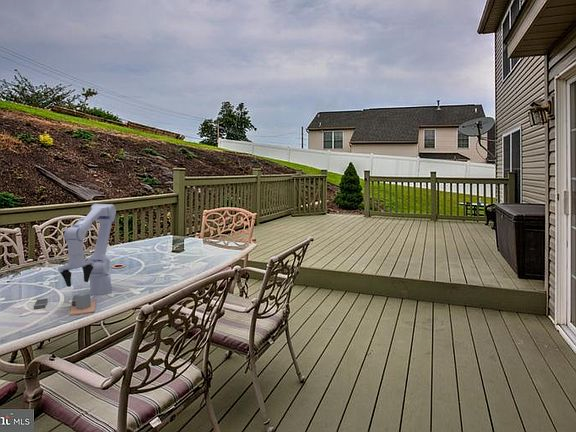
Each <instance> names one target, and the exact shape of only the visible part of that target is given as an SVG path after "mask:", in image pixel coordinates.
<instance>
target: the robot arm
mask: <svg viewBox="0 0 576 432" xmlns="http://www.w3.org/2000/svg"><path fill="white" fill-rule="evenodd" d="M116 215H117V210H116V206H115V205H114V204H113V203H110V204H109V203H107V204H106V203H105V204H104V203H94V204H92V205H91V206H90V212H89V213H88V214H87V215H86V216H85V217H80V218H79V220H78V221H76V223H74V224H73V225H72V226H70V227H67V228H66V229H65V230H64V234H63V237H64V239H65V243H66V245H67V253H68V254H67V255H68V264H65V265H62V266H58V267H57V271H58V272H59V273H60V275H61V276H62V278H63V280H64V282H65V285H66V287H68V288H69V287H72V280H71V279H72V271H70V270H74V269H75V270H77V269H80V268H82V272H83V281H84V282H85V283H89V292H88V293H90V296H98V295H106V294H112V293H111V292H112V288H113V287H112V282H111V281H112V280H111V279H112V278H111V273H109V272H110V269H111V265H110V264H111V260H110V259H109V257H108V256H107V255H106V254H107V249H108V244H109V240H110V239H109V238H110V234H111V229H112V224H113V223H114V222H115V219H116ZM95 221H96V222H98V223H99V227H98V233H97V236H96V237H97V238H96V241H95V242H96V243H95V247H94V251H93V254H92V255H90V256H89V257H87V260H85V257H84V255H85V254H84V240H85V238H86V235H87V234H88V233H87V232H88V231H89V230H90V229H92V227H93V222H95Z"/></svg>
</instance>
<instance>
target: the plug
mask: <svg viewBox="0 0 576 432" xmlns="http://www.w3.org/2000/svg"><path fill="white" fill-rule="evenodd" d="M74 295H75V302H76V304H75V303H72V302H71V307H72V306H76V308H77V309H82V310H83V309H86V308H88V307H90V306H91V301H92V299H91V295H90V293H89V292H85V291H82V292H79V293H76V294H74Z"/></svg>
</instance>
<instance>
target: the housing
mask: <svg viewBox="0 0 576 432" xmlns="http://www.w3.org/2000/svg"><path fill="white" fill-rule="evenodd" d="M75 295H76V294H74V295H73V297H72V299H71V304H72V303H76V302H75ZM48 303H49V298H47V297H46V298H38V299H36V301H35V302H34V304H33V310H39V309H45V308H46V307H47V304H48Z"/></svg>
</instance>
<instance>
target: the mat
mask: <svg viewBox="0 0 576 432" xmlns="http://www.w3.org/2000/svg"><path fill="white" fill-rule="evenodd" d="M96 303H97V301H96V300H91V306H90V307H88V308H86V309H83V310H82V309H77V308H76V306H72V305H71V309H70V312H69V316H70V317H71V316H79V315H85V314H93V313H95V311H96V305H97V304H96ZM75 304H76V303H75Z"/></svg>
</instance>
